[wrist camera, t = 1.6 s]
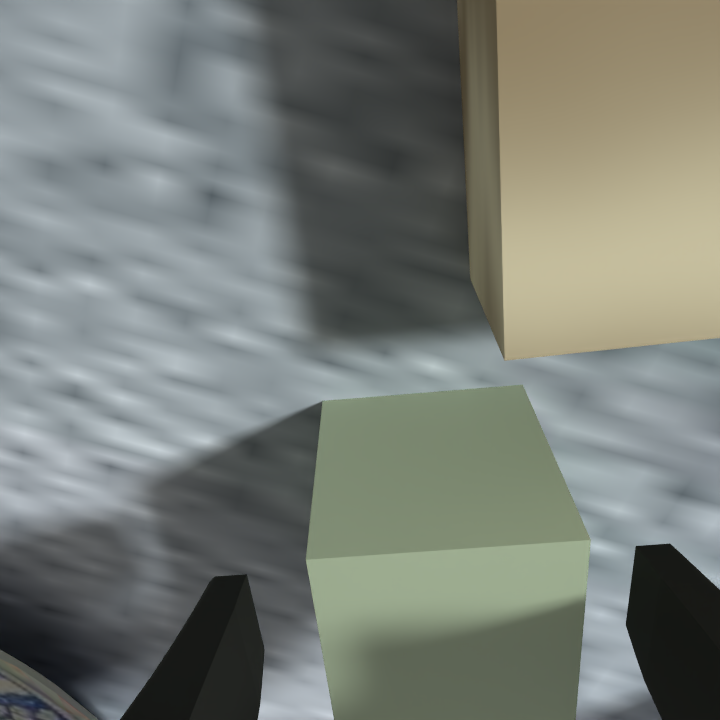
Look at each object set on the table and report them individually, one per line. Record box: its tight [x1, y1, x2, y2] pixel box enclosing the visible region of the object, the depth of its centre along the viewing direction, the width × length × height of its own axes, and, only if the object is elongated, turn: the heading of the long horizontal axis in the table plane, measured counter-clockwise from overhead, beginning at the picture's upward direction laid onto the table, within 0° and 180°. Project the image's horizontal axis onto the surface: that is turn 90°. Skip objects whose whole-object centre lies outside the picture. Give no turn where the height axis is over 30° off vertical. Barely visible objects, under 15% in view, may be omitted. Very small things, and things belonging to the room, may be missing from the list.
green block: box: [306, 385, 591, 720], centre depth 14 cm, size 4×4×5 cm
